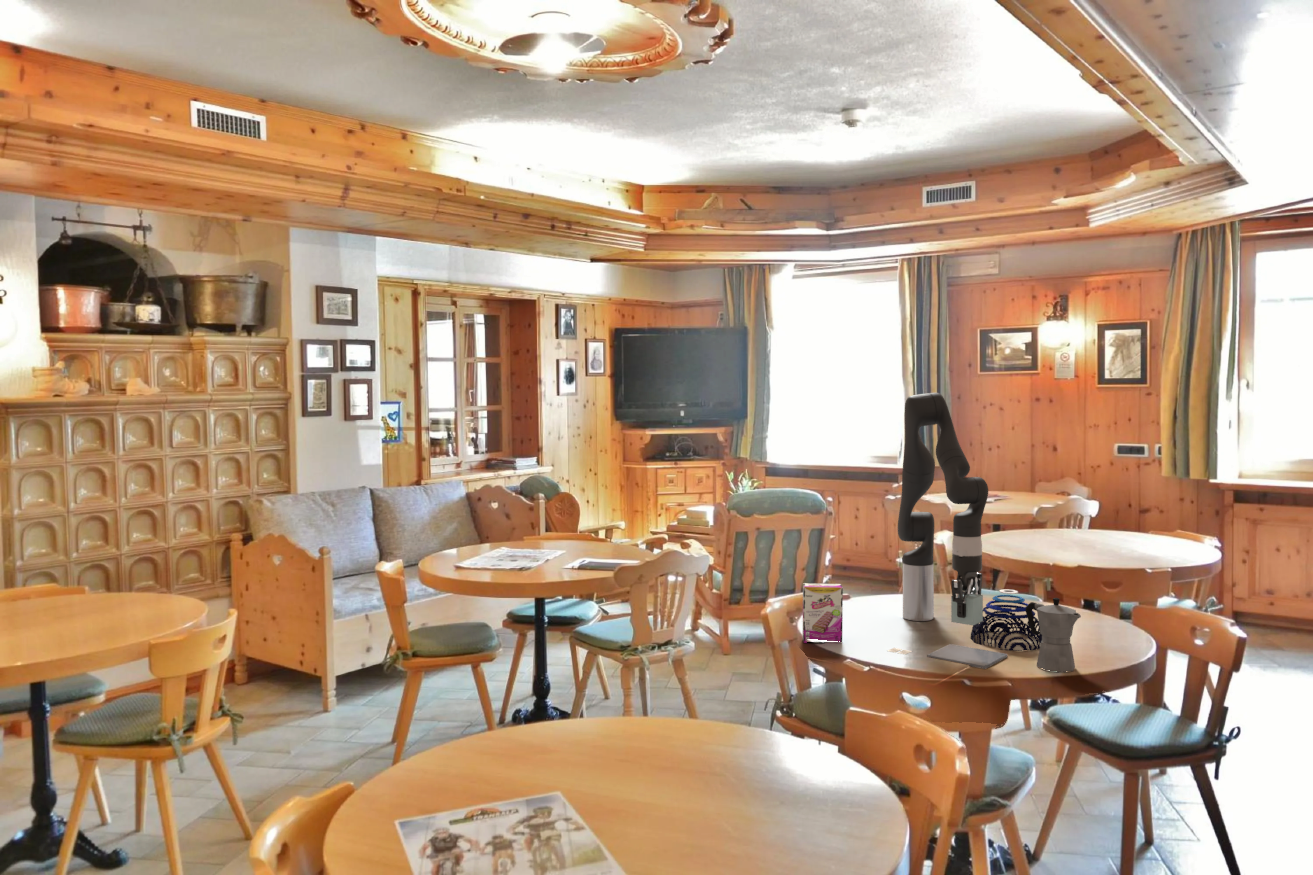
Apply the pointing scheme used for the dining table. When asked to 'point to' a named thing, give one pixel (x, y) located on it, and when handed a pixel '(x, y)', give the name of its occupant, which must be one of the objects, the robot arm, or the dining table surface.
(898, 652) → the brown coaster
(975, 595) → the pale green block
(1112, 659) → the dining table surface
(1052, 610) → the coffeepot
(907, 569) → the robot arm
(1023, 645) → the decorative bowl
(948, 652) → the slate plate
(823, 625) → the candy bar box
